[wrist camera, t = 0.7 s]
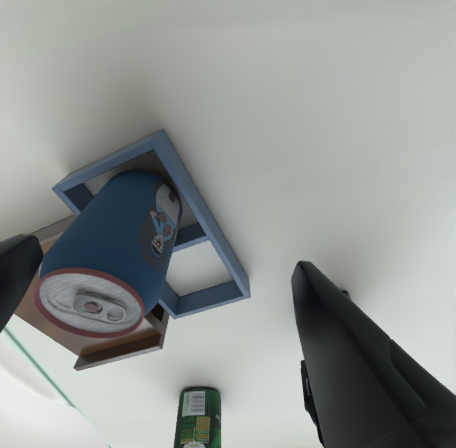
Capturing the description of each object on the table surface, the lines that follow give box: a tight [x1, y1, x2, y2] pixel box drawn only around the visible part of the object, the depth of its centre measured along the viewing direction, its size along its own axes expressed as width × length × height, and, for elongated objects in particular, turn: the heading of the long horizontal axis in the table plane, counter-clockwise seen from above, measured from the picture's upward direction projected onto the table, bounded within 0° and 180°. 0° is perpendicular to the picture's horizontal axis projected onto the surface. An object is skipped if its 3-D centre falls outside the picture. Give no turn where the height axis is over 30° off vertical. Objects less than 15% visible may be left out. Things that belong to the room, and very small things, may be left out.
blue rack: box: [52, 129, 251, 319], centre depth 25 cm, size 19×10×3 cm, turn 24°
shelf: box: [14, 214, 169, 371], centre depth 27 cm, size 16×12×6 cm
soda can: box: [32, 170, 182, 339], centre depth 19 cm, size 7×7×12 cm
